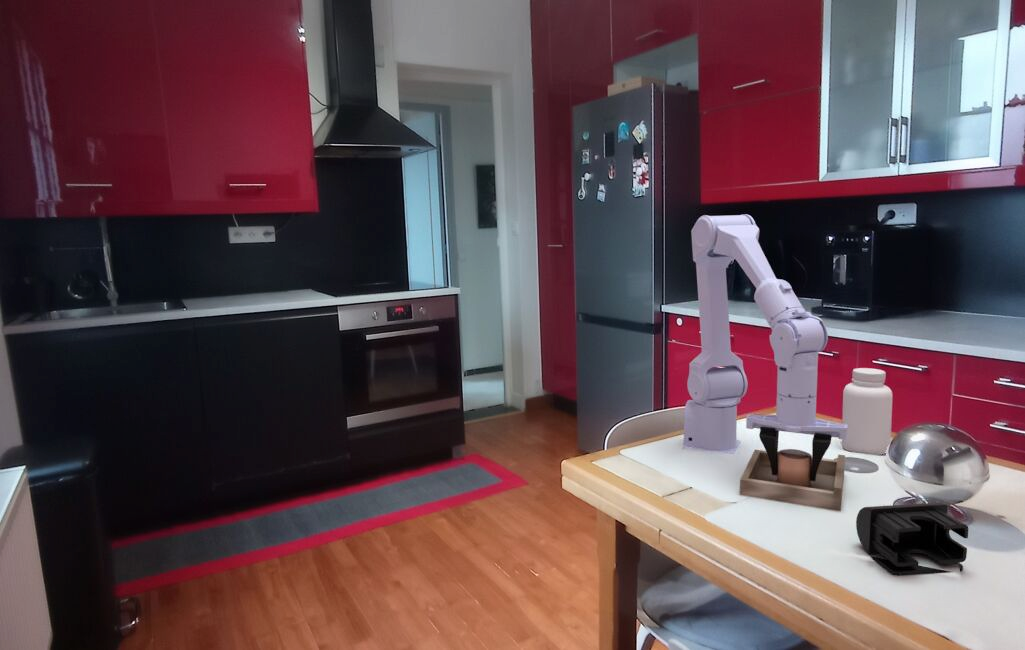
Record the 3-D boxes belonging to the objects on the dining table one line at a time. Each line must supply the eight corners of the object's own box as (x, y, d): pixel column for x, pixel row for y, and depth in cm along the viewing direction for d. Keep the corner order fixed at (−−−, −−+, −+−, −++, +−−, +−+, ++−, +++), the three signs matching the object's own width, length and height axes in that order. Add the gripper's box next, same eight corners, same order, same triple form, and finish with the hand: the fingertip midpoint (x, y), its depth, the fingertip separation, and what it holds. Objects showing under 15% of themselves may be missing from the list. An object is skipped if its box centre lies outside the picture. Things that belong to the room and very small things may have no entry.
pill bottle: (877, 442, 121) (881, 365, 119) (898, 456, 114) (903, 375, 111) (834, 442, 122) (837, 366, 120) (852, 456, 114) (855, 375, 112)
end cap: (927, 543, 83) (930, 494, 82) (969, 571, 76) (973, 518, 75) (853, 548, 82) (856, 499, 82) (889, 577, 75) (892, 523, 74)
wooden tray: (739, 497, 99) (740, 473, 98) (754, 465, 111) (755, 444, 111) (840, 514, 92) (841, 488, 91) (843, 478, 105) (844, 455, 104)
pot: (774, 487, 101) (775, 456, 100) (778, 476, 105) (779, 446, 104) (809, 492, 98) (810, 460, 97) (811, 481, 102) (812, 450, 102)
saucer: (831, 472, 107) (831, 467, 107) (833, 459, 113) (833, 454, 113) (878, 478, 104) (878, 474, 104) (878, 464, 110) (878, 460, 110)
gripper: (743, 395, 99) (742, 477, 101) (847, 404, 92) (843, 492, 94) (750, 385, 106) (749, 462, 107) (849, 393, 98) (845, 476, 100)
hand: (793, 476), depth 101 cm, fingers closed on pot, 5 cm apart
